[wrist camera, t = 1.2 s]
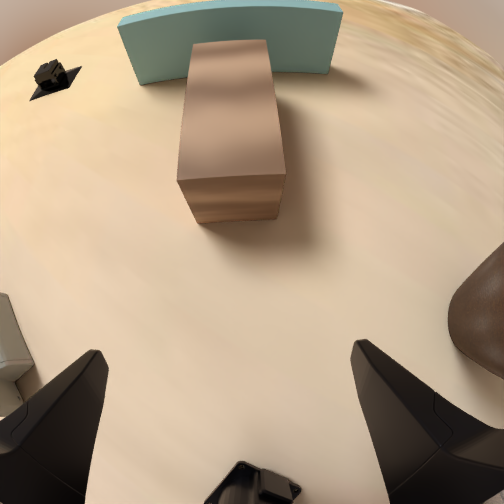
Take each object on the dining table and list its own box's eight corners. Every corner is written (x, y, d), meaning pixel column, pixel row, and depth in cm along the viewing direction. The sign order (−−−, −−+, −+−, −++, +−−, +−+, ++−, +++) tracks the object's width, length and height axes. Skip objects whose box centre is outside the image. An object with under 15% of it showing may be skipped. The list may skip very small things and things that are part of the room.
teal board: (327, 74, 31) (343, 12, 21) (139, 85, 31) (117, 26, 21) (315, 41, 33) (324, -13, 23) (150, 50, 33) (135, -2, 23)
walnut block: (276, 219, 26) (286, 173, 18) (197, 224, 26) (176, 180, 18) (263, 93, 30) (265, 39, 22) (202, 97, 30) (193, 44, 22)
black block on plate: (93, 63, 34) (83, 43, 29) (76, 92, 32) (63, 72, 27) (40, 80, 34) (29, 64, 30) (22, 109, 32) (10, 93, 28)
